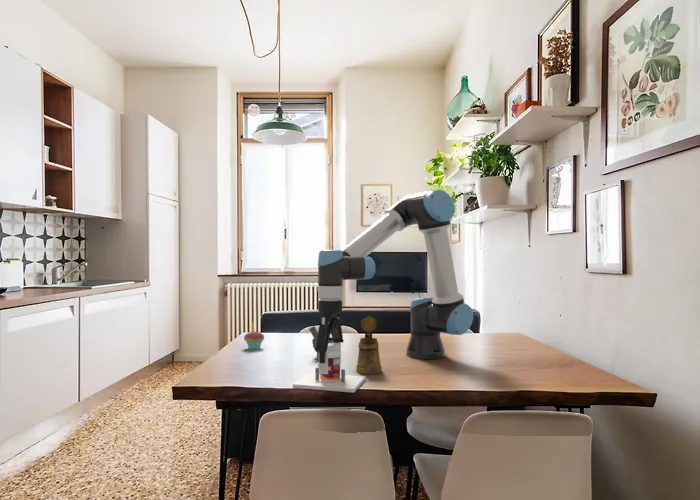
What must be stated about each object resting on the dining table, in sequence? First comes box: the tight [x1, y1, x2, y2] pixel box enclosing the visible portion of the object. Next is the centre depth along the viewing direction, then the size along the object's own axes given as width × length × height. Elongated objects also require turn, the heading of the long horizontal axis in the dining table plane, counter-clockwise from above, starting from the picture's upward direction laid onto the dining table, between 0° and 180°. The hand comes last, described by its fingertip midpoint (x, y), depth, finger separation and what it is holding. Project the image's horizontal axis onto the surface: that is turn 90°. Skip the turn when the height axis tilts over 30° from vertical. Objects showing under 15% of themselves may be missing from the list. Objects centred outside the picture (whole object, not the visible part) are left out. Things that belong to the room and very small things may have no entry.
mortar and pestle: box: [308, 325, 335, 359], centre depth 173 cm, size 11×9×12 cm
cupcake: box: [243, 322, 265, 350], centre depth 190 cm, size 9×8×12 cm
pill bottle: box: [320, 343, 341, 382], centre depth 136 cm, size 6×6×11 cm
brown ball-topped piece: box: [355, 315, 383, 375], centre depth 153 cm, size 9×14×18 cm, turn 176°
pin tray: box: [292, 367, 366, 394], centre depth 136 cm, size 19×14×4 cm
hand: (330, 368), depth 136 cm, fingers open, 13 cm apart
